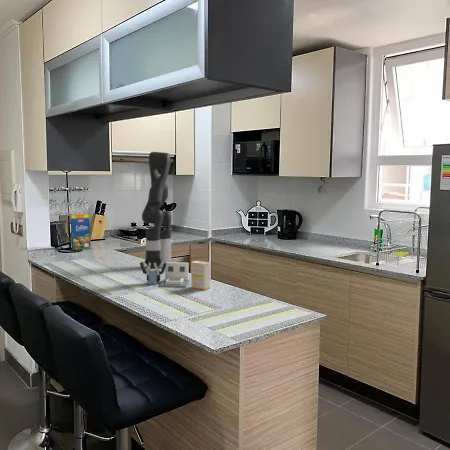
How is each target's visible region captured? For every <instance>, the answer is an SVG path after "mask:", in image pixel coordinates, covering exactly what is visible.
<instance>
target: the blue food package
mask: <svg viewBox="0 0 450 450" xmlns="http://www.w3.org/2000/svg"><path fill="white" fill-rule="evenodd" d="M70 238H71V239H70V240H71V250H72V251H75V250H76V251H78V250H88V249H91V248H92V247H91V223H90V217H89V214H88V213H86V214H85V213H84V214H71V219H70Z"/></svg>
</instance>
